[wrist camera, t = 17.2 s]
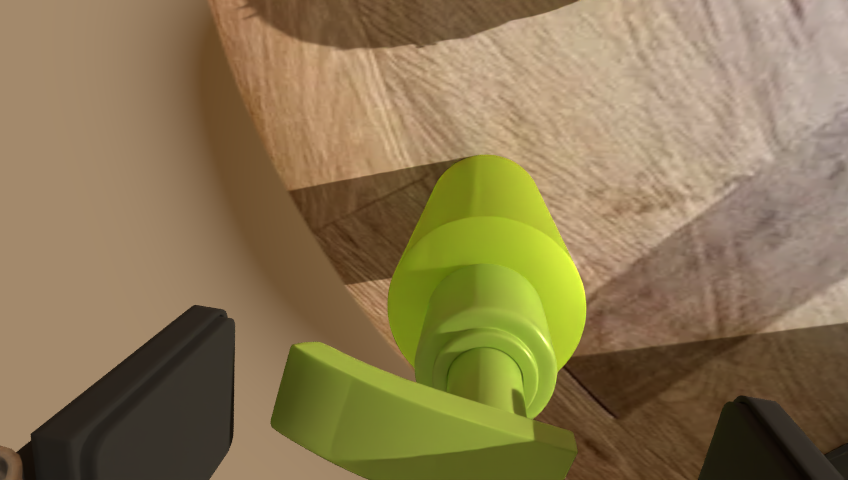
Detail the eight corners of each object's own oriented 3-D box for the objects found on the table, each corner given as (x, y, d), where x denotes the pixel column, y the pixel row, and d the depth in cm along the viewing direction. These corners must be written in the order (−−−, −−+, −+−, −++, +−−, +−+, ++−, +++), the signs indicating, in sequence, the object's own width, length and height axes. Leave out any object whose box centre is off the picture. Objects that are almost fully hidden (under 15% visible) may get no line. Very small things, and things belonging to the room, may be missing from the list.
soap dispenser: (430, 132, 28) (309, 250, 9) (558, 176, 27) (725, 392, 8) (397, 236, 29) (235, 526, 10) (517, 277, 29) (579, 645, 10)
